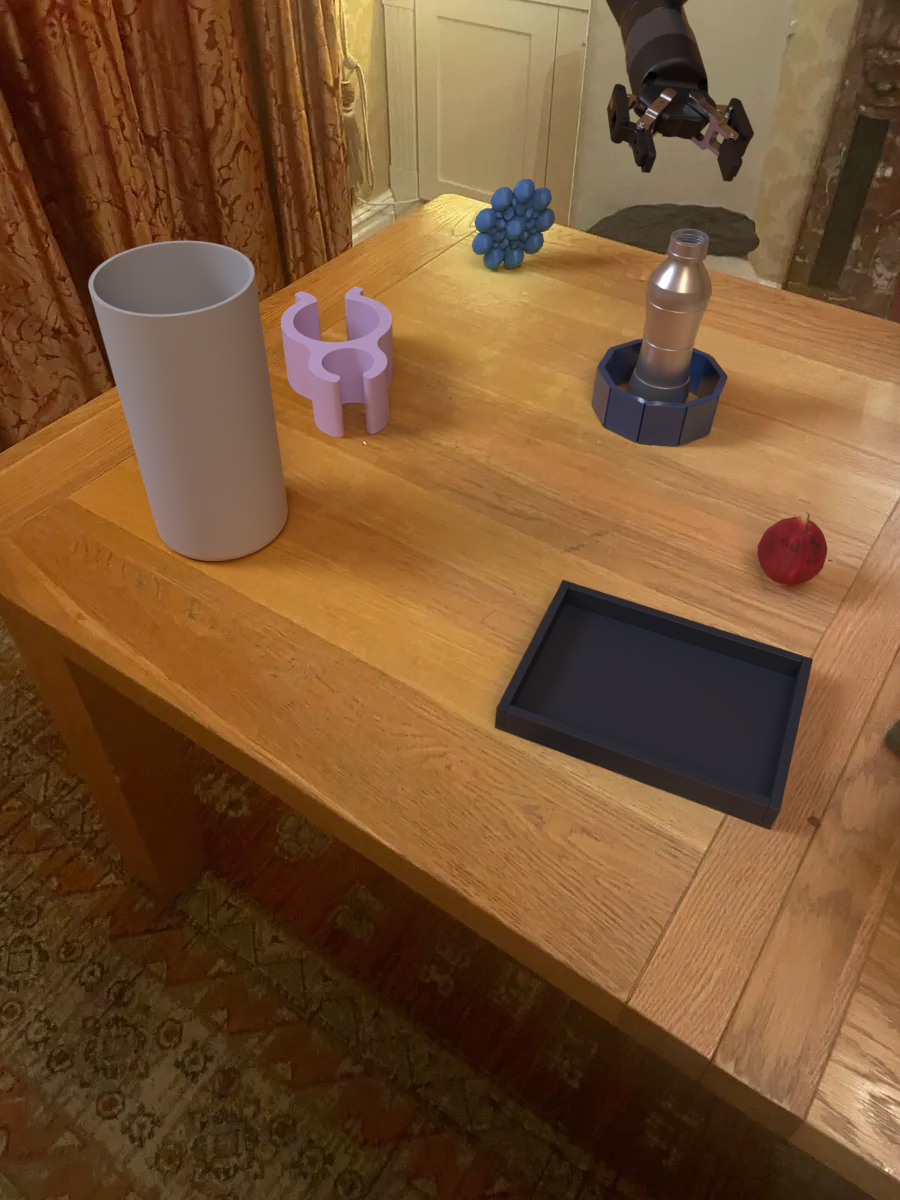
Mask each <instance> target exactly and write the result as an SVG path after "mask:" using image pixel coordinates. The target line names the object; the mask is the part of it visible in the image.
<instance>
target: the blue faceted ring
mask: <svg viewBox="0 0 900 1200" xmlns="http://www.w3.org/2000/svg"><path fill="white" fill-rule="evenodd" d="M642 341H643V338H636V339H633V340H630V341H627V342H624V343H620V344H617V345H613V346H611V347H609V348H607V350H606V352H605V353H604V355H603V357H602V358H601V360H600V361H599V362H598V365H597V367H596V373H595V379H594V386H593V387H594V388H593V391H592V399H591V407H592V409H593V411H594V413H595V414H596V417H597V418H598V421H600V424H601V426H602V427H604V428H605V429H606V430H609V431H610V432H612V433H614V434H617V435H619V436H621V437H623V438H624V439H627V440H629V441H631V442H633V443H635V444H638V445H650V446H663V447H676V448H677V447H681V446H683V445H686V444H689V443H692V442H694V441H697V440H699V439H702V438H706V437H708V436H709V435H710V434H711V432H712V429H713V427H714V425H715V422H716V420H717V418H718V415H719V411H720V407H721V403H722V401H723V397H724V393H725V390H726V387H727V382H728V378H729V377H728V374H727V373H726V372H725V370H724V369H723V368H722V367H721V365H720V364H719V363H718V361H717V360H716V359H715V357H714V356H713V355H711V354H710V353H707V352H705V351H703V350H700V349H699V348H696V347H693V350H692V358H691V365H690V373H689V376H690V387H689V393H692V394H693V395H695V396H697V398H695V399H694V400H691V401H688V402H686V403H685V404H684V403H671V402H658V401H646V400H644V399H642V398H640V397H638V396H636V395H633V394H631V393H629V392H628V390H625V389H622V388H620V387H618V386H621V385H623V384H626V383H629V382H630V379H631V376H632V373H633V371H634V369H635V367H636V364H637V360H638V357H639V353H640V349H641V346H642Z"/></svg>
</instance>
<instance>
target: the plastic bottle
mask: <svg viewBox="0 0 900 1200" xmlns="http://www.w3.org/2000/svg"><path fill="white" fill-rule="evenodd" d="M709 244H710V235H708V233H706V232H704V231H701V230H698V229H694V228H679V229H676V230H674V231H673V232H672V233H671V235H670V239H669V244H668V246H667V248H666V255H667V256H668V257H666V258H665V259H664V260H662V262H661V263H659V264H658V265H657V266H656V267H655V269H653V271H652V272H651V273H650V275H649V278H648V280H647V281H646V287H645V316H644V317H645V318H644V327H643V334H642V339H643V341H642V346H641V349H640V353H639V357H638V360H637V364H636V367H635V369H634V371H633V373H632V376H631V379H630V381H629V382H628V386H627V388H628V389H627V392H629V393H631V394H633V395H636V396H638V397H640V398H642V399H644V400H646V401H658V402H671V403H684V404H685V403H687V401H688V399H689V396H690V392H689V387H690V376H689V373H690V365H691V358H692V350H693V348H695V347H694V346H695V344H696V340H697V336H698V332H699V328H700V325H701V323H702V320H703V318H704V315H705V312H706V311H707V308H708V305H709V302H710V300H711V297H712V293H713V288H712V280H711V277H710V274H709V272H708V269H707V268H706V266H705V264H704V262H703V261H705V260H706V259H707V257H708V253H709V252H708V249H709Z"/></svg>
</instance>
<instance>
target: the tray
mask: <svg viewBox="0 0 900 1200" xmlns="http://www.w3.org/2000/svg"><path fill="white" fill-rule="evenodd" d="M813 661H814V658H812V657H810V656H805V655H803V654H799V653H796V652H793V651H790V650H787V649H783V648H780V647H778V646H774V645H772V644H768V643H765V642H761V641H758V640H755V639H752V638H749V637H745V636H743V635H739V634H737V633H733V632H730V631H726V630H724V629H720V628H717V627H715V626H711V625H708V624H704V623H701V622H698V621H695V620H691V619H689V618H686V617H683V616H679V615H675V614H672V613H669V612H666V611H663V610H660V609H658V608H653V607H651V606H648V605H644V604H641V603H638V602H635V601H632V600H629V599H625V598H622V597H618V596H616V595H612V594H610V593H607V592H604V591H600V590H597V589H594V588H592V587H591V588H590V587H587V586H584V585H581V584H578V583H574V582H571V581H568V580H565V579H562V580H561V582H560V584H559V586H558V588H557V590H556V592H555V594H554V595H553V597H552V599H551V602H550V603H549V605H548V607H547V609H546V610H545V613H544V615H543V617H542V618H541V621H540V622H539V624H538V625H537V628H536V630H535V632H534V635H533V636H532V638H531V640H530V642H529V644H528V645H527V648H526V650H525V652H524V654H523V656H522V658H521V660H520V662H519V663H518V665H517V667H516V669H515V671H514V673H513V675H512V677H511V679H510V681H509V683H508V685H507V686H506V689H505V690H504V693H503V694H502V696H501V698H500V700H499V702H498V704H497V706H496V707H495V708H496V710H495V719H494V729H497V730H500V731H502V732H505V733H508V734H511V735H512V736H516V737H518V738H521V739H524V740H527V741H529V742H532V743H535V744H537V745H541V746H542V747H545V748H548V749H550V750H554V751H556V752H559V753H561V754H564V755H568V756H570V757H572V758H575V759H578V760H580V761H583V762H586V763H588V764H592V765H594V766H597V767H599V768H601V769H605V770H608V771H610V772H613V773H616V774H618V775H621V776H623V777H627V778H629V779H631V780H635V781H637V782H640V783H643V784H645V785H648V786H651V787H653V788H656V789H659V790H661V791H664V792H667V793H670V794H673V795H675V796H677V797H681V798H683V799H686V800H688V801H691V802H694V803H696V804H700V805H702V806H705V807H706V808H707V807H708V808H710V809H713V810H716V811H717V812H718V811H719V812H721V813H724V814H726V815H728V816H732V817H734V818H737V819H740V820H743V821H745V822H748V823H751V824H753V825H756V826H759V827H762V828H765V829H767V830H771V829H772V828H773V825H774V823H775V822H776V819H778V816H779V814H780V813H781V810H782V809H781V808H782V804H783V800H784V795H785V790H786V785H787V781H788V777H789V773H790V767H791V762H792V760H793V759H792V758H793V754H794V749H795V744H796V741H797V740H796V739H797V735H798V731H799V725H800V721H801V717H802V712H803V707H804V704H805V698H806V694H807V689H808V684H809V680H810V676H811V671H812V666H813Z"/></svg>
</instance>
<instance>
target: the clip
mask: <svg viewBox="0 0 900 1200" xmlns="http://www.w3.org/2000/svg"><path fill="white" fill-rule="evenodd" d="M294 299H295V303H293V304H292V305H290V306H289V307H288V308H286V310H285V311H284V312H283V314H282V315H281V318H280V328H281V337H282V345H283V352H284V360H285V361H284V362H285V369H286V376H287V382H288V384H289V386H290V387H291V389H292V390H293V391H294V392H295V393H297V394H298V395H300V396H301V397H303V398H305V399H308V400H309V401H311V402H312V410H313V411H312V413H313V421H314V424H315V426H316V427H317V429H318V430H320V431H321V432H322V433H324V434H325V435H327V436H330V437H332V438H335V439H341V438H343V437H344V436H345V422H344V409H343V405H344V404H360V405H364V412H365V413H364V414H365V428H366V429H365V430H366V432H367V433H368V434H370V435H374V434H378V433H379V432H380V431H382V430H384V428H385V427H386V426H387V425H388V423H389V419H390V401H389V386H390V385H391V383H392V381H393V379H394V372H395V371H394V338H393V337H394V336H393V334H394V333H393V315H392V314H391V311H390V310H389V309H388V307H386V305H384V304H383V303H381V302H380V301H378V300H376V299H374V298H371V297H369V296H364V288H363V287H360V286H353V287H352V288H350V289H349V290H348V291H347V292H346V293H345V295H344V308H345V321H346V322H345V325H346V336H347V337H346V338H347V339H346V341H323V340H322V335H321V325H320V314H319V313H320V312H319V304H318V303H319V301H318V298H317V297H316V296H314V295H312V294H311V293H308V292H306V291H300V290H299V291H298V292H296V293H294Z"/></svg>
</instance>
